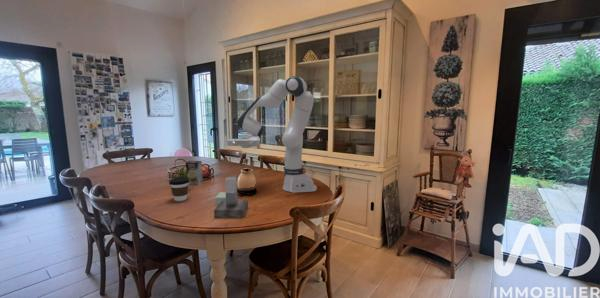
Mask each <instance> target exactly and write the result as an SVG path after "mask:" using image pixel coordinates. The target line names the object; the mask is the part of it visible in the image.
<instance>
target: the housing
mask: <svg viewBox="0 0 600 298" xmlns="http://www.w3.org/2000/svg"><path fill="white" fill-rule="evenodd" d="M237 187H238V185H237V177H236V176H227V177H226V178H225V179H224V189H225V190H224V192H226V207H235V206H236V205H237V200H238V188H237Z"/></svg>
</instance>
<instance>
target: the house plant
mask: <svg viewBox="0 0 600 298" xmlns="http://www.w3.org/2000/svg"><path fill="white" fill-rule="evenodd" d="M173 170H174V171H173V172H175V174H176V175H172V176H173V179H175V178H188V176H189V175H188V173H189V172H190V171H191V170H190V171H189V172H188V173H187V168H186V167H185V166H184V167H183V166H180V169H179V172H178V171H176V169H173ZM186 173H187V174H186ZM187 175H188V176H187ZM190 175H191V174H190ZM188 179H189V178H188ZM189 189H190V185H189V183H188V192H189Z"/></svg>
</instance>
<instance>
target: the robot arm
mask: <svg viewBox="0 0 600 298" xmlns="http://www.w3.org/2000/svg"><path fill="white" fill-rule="evenodd" d="M288 95H292V96H293V97H295V98H296V99H295V100H296V101H295V105H294V107H293V109H292V113H291V117H290V118H289V121H288V123H287V125H286V128H285V130H284V132H283V135H282V137H281V141H282V142H281V143H282V144H283V146H284V147H285V151H284V152H285V154H284V168H283V175H284V181H283V186H282V190H283V191H286V192H289V193H292V194H296V193H310V192H316V191H317V190H318V188H317V185H316V184H315V183H314V180H313V178H312V177H311V176H309V175H308V174H307V173H306V172H307V171H306V169H305V167H303V163H302V162H303V160H302V157H303V155H302V154H303V145H304V135H303V133H304V132H305V129H306V127H307V125H308V122H309V119H310V117H311V114H312V110H313V108H314V101H315V96H314V95H313V94H312V93H311V92H309V91H308V83H307V82H306V80H304V79H303V78H302V77H299V76H297V75H293V76H290V77H288V78H287V79H286V80H285V79H283V78H282V79H281V78H279V79H277V80H276V81H275V82H274V83H273V84H272V86H271V87H270V88H269V90H268V91H267V92H266V93H265V94H264V95H260V96H259V95H258V97H257V98H256V99H254V101H253V102H252V103H251V104H250V105H249V107H248V108H247V109H246V110H245V111H244V112H243V113H242V114H240V116H239V117H237V120H236V125H237V128H239V129H241V130H242V131H245V133H244V134H242V135H241V136H240V137H239V138H229V139H227V140H226V146H228V147H241V148H243V149H250V148H253V147H255V148H256V147H260V146H261V137H262V135H263V134H264V131H265V128H264V125H263V124H262V123H260V122H259V121H258V120H256V119H254V118H252V116H251V115H252V114H253V113H254V111H256V109H257V108H259V107H263V108H268V109H277V108H279V107H280V106H281V105H282V103H283V102H284V100H285V98H286V97H287V96H288Z"/></svg>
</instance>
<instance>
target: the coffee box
mask: <svg viewBox="0 0 600 298" xmlns="http://www.w3.org/2000/svg"><path fill="white" fill-rule="evenodd" d="M202 165H203V164H202V161H201V160H188V161H186V162H185V169H186V168H187V173H188V172H189V171H190V170H191V171H190V172H189V173H188V175H189V176H188V175H187V176H188V178H189V186H200V185H201V184H203V166H202ZM187 173H186V174H187ZM190 174H191V175H190Z"/></svg>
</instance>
